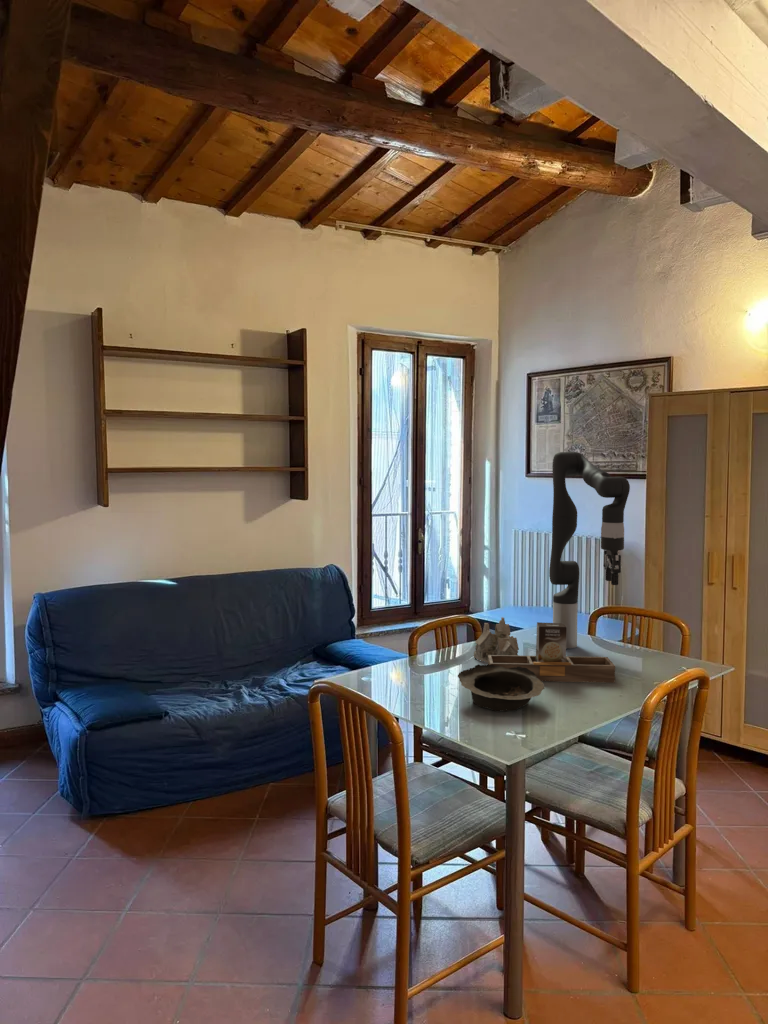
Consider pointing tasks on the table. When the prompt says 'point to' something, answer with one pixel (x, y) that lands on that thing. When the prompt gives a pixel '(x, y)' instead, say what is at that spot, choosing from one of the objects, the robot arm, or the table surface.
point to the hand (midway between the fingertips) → (611, 582)
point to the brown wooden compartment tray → (561, 668)
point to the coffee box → (551, 642)
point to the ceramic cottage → (495, 642)
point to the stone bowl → (501, 686)
